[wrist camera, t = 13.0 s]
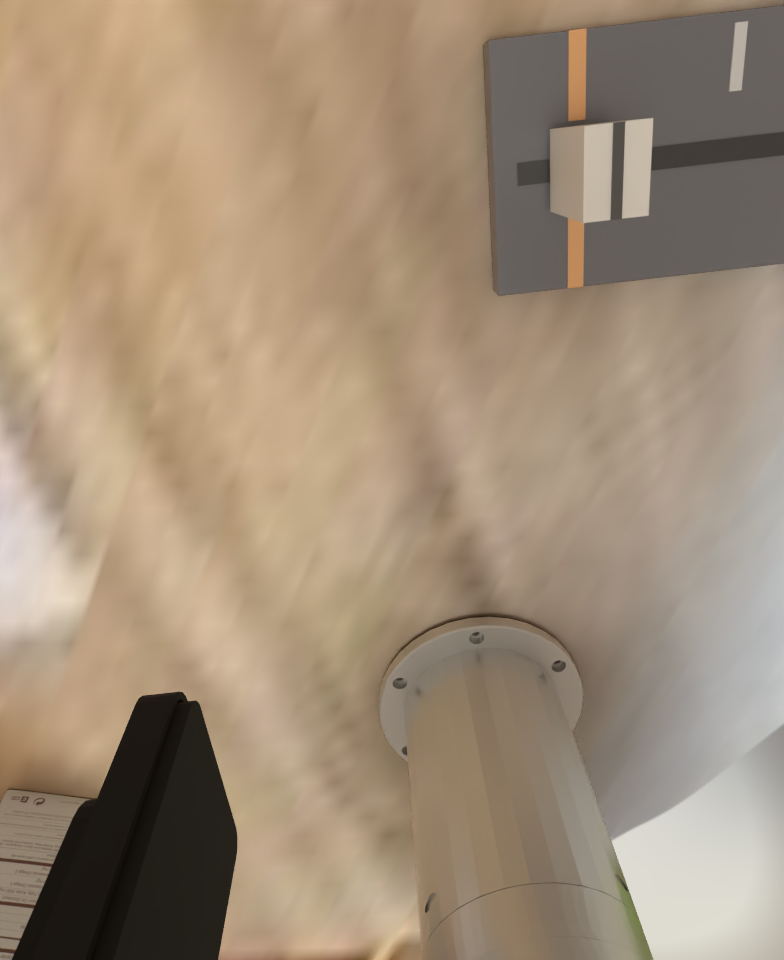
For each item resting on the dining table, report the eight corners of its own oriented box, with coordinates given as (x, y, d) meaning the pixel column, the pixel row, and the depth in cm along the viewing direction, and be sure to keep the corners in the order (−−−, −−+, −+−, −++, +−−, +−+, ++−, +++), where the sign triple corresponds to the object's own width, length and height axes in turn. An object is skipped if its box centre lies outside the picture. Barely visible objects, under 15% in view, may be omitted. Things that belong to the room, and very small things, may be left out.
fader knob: (605, 205, 30) (649, 215, 26) (550, 211, 30) (583, 223, 26) (607, 122, 29) (654, 117, 24) (549, 129, 29) (584, 125, 24)
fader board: (915, 241, 33) (939, 245, 32) (493, 289, 33) (498, 296, 32) (967, -13, 29) (999, -21, 27) (482, 44, 29) (489, 39, 28)
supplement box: (114, 871, 50) (41, 1086, 39) (5, 859, 49) (-103, 1075, 38) (122, 799, 47) (45, 1009, 36) (6, 784, 46) (-112, 995, 35)
